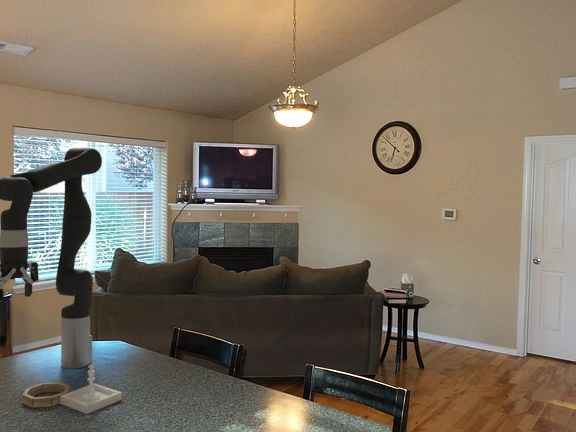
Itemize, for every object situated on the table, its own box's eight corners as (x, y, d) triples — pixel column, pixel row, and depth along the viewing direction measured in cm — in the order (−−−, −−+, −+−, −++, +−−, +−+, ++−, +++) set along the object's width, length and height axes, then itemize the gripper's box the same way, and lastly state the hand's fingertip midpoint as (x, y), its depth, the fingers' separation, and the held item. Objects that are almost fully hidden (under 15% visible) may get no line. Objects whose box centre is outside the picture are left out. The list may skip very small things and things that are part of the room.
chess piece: (94, 402, 152) (94, 367, 151) (78, 400, 153) (78, 366, 152) (103, 395, 157) (103, 362, 156) (88, 393, 158) (88, 360, 157)
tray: (94, 390, 163) (94, 383, 163) (121, 399, 157) (121, 392, 157) (59, 403, 153) (59, 396, 153) (87, 414, 147) (87, 406, 147)
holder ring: (52, 387, 164) (52, 379, 164) (77, 396, 158) (77, 388, 158) (15, 400, 154) (15, 392, 154) (40, 410, 148) (40, 401, 148)
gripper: (29, 241, 167) (29, 293, 168) (-18, 245, 154) (-17, 301, 155) (43, 243, 163) (43, 296, 164) (-3, 248, 151) (-3, 304, 152)
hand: (14, 298), depth 160 cm, fingers open, 8 cm apart
